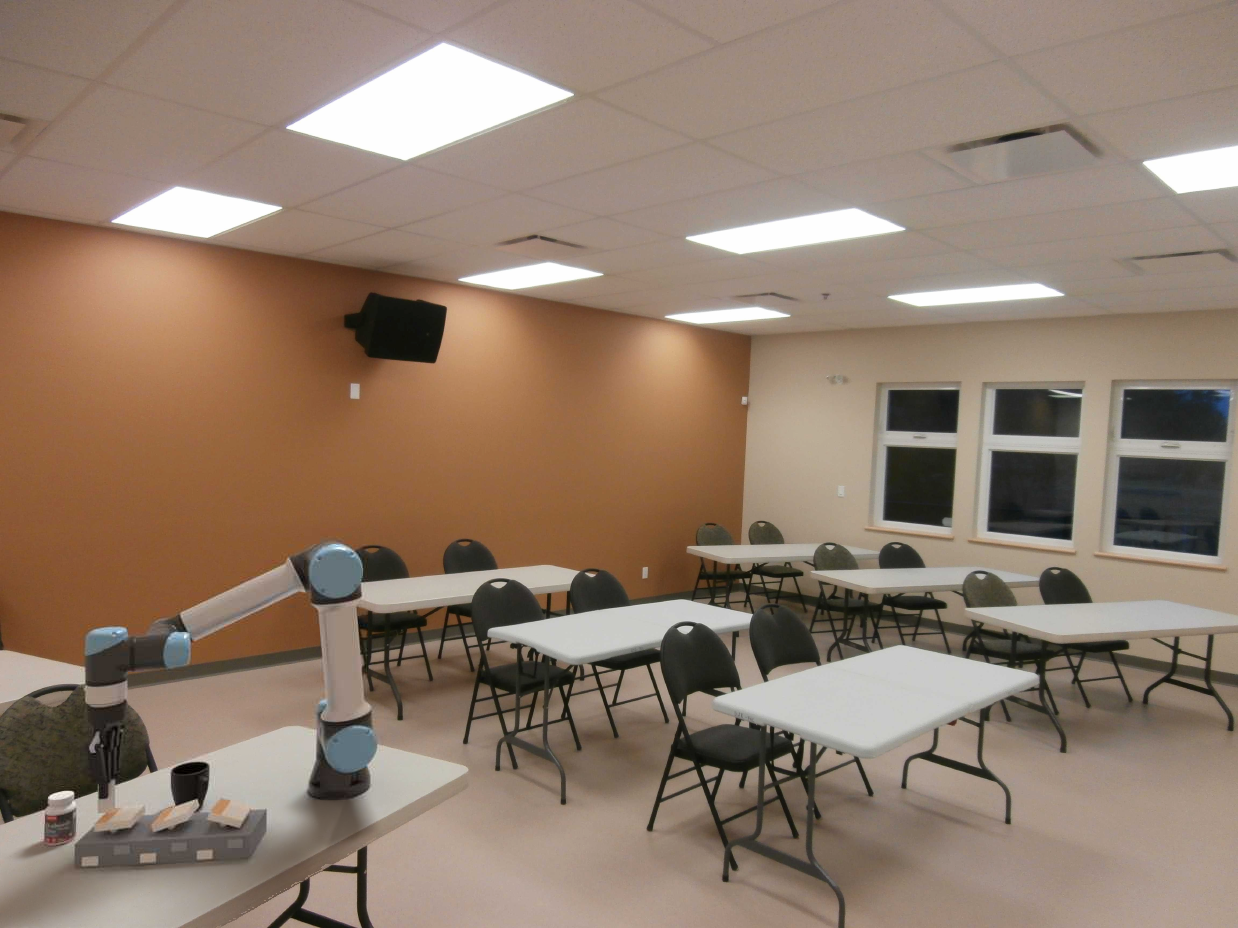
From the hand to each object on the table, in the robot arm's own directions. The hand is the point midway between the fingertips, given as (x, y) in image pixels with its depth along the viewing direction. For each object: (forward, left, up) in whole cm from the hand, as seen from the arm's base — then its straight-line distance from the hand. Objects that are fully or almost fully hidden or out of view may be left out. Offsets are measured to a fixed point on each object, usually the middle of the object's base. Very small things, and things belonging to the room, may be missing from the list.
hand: (106, 810), depth 167 cm
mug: (-11, -19, -9) cm, 24 cm away
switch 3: (-24, 0, -3) cm, 25 cm away
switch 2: (-14, 0, -3) cm, 15 cm away
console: (-14, 0, -9) cm, 16 cm away
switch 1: (-3, 0, -3) cm, 4 cm away
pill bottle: (+12, -7, -9) cm, 17 cm away
